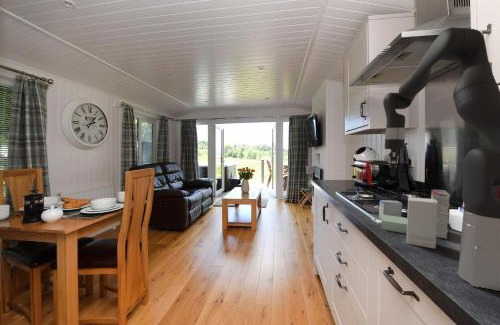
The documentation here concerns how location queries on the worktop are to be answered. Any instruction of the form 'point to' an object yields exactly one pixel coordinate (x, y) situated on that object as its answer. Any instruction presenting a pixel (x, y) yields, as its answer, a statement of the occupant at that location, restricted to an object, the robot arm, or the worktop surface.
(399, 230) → the sage block
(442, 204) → the candy bar box
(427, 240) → the skincare box
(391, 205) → the medicine box
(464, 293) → the worktop surface
